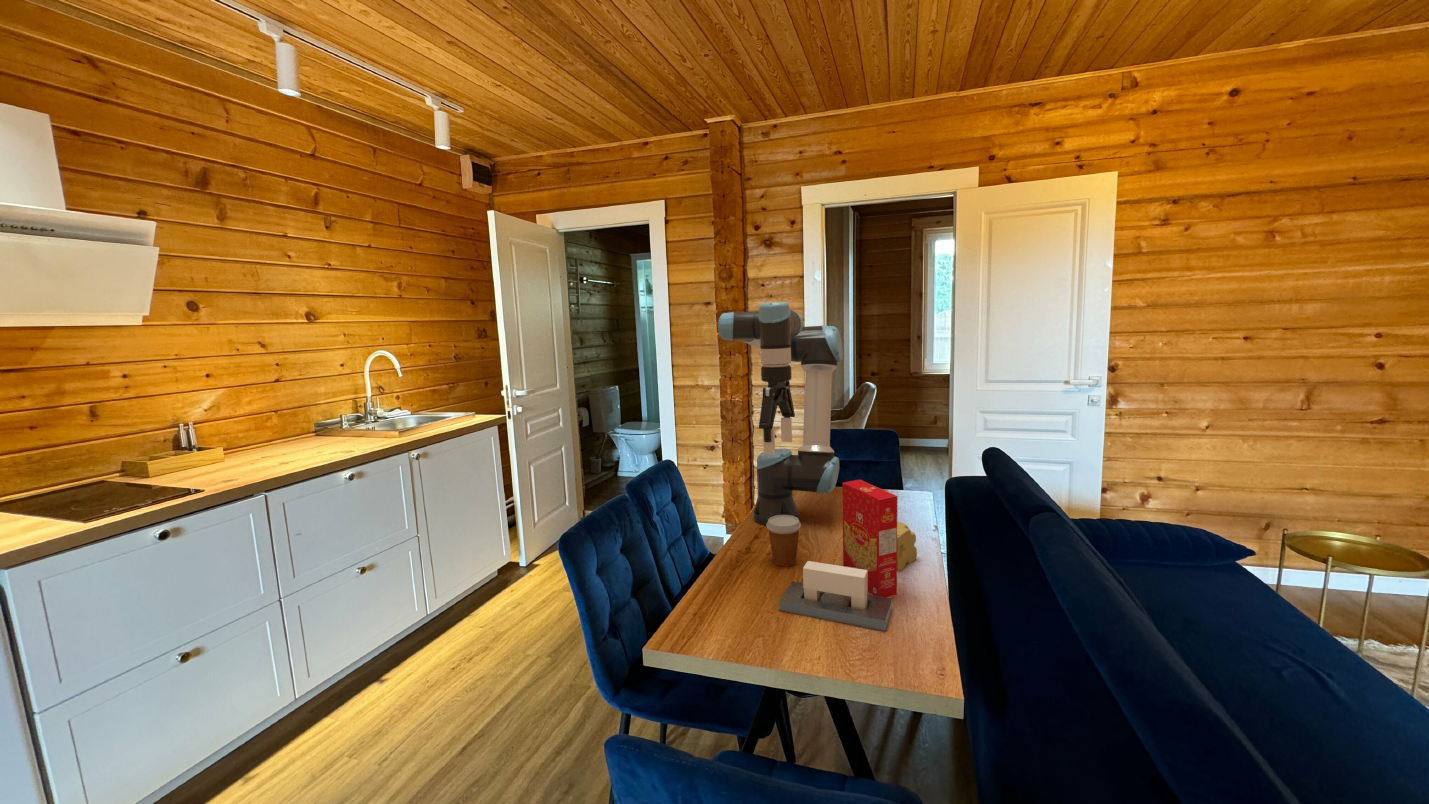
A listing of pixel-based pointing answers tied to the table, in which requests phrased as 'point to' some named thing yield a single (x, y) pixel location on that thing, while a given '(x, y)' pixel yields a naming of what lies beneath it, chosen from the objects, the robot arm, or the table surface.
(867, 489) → the food packaging
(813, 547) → the table surface
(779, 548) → the disposable coffee cup
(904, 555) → the cheese
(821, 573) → the white block
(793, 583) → the grey flat rectangular block
